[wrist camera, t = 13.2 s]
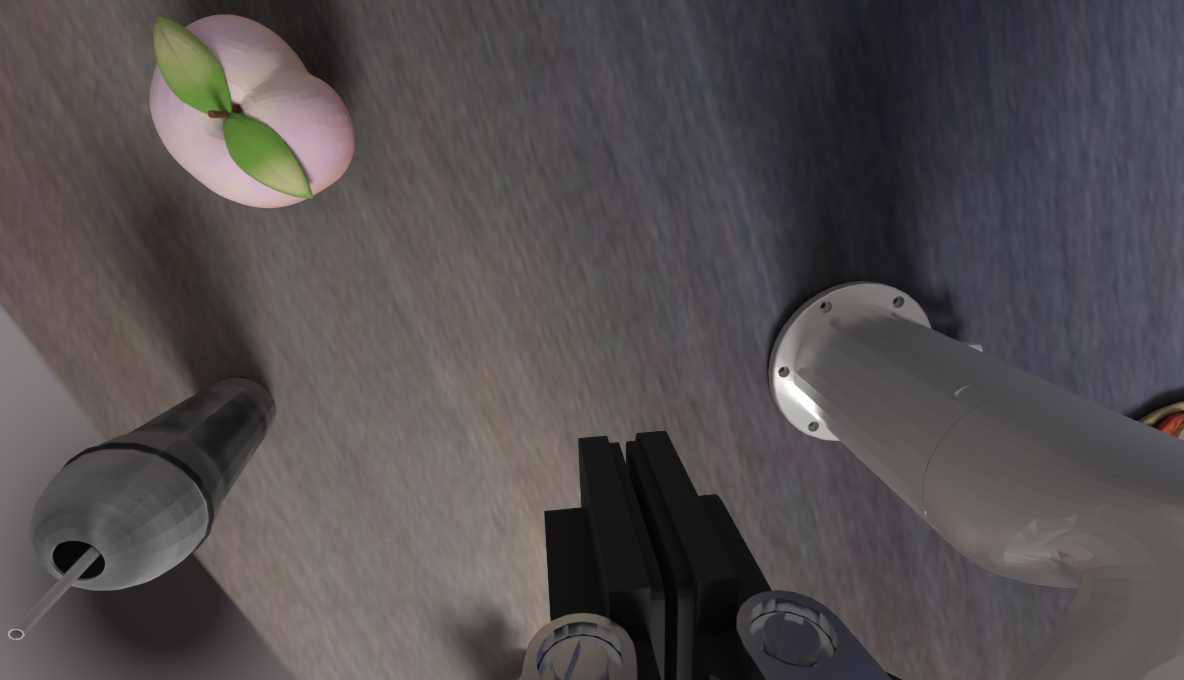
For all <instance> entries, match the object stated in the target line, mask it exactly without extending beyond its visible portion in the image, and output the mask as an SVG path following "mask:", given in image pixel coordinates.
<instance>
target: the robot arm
mask: <svg viewBox="0 0 1184 680" xmlns="http://www.w3.org/2000/svg"><path fill="white" fill-rule="evenodd" d="M822 303H823V304H822ZM821 304H822V306H821ZM820 306H821V307H820ZM780 368H781V369H780ZM779 369H780V370H779ZM768 374H769V386H770V390H771V393H772V397H773V400H774V401H775V403H776V405H777V407H778V408H779V410H780V412H781V413H782V414H783V415H784V416H785V417H786V418H787V420H788V421H789V422H791V423H792V424H793V425H794V426H795V427H796V428H797V429H799V430H800V431H802V432H804V433H806V434H807V435H810V436H813V437H816V438H820V439H823V440H833V441H841V442H842V443H843V444H844V445H845V446H846V447H847V448H848V449H850V450H851V451H852V452H853V453H854V454H855V455H856V456H857V457H858V458H859V459H860V460H861V461H862V462H863V463H864V464H866V465H867V466H868V467H869V468H870V469H871V470H872V471H873V472H874V473H875V474H876V475H877V476H878V477H879V478H880V479H881V480H883V481H884V482H885V483H886V484H887V485H888V486H889V487H890V488H891V489H892V490H893V491H894V492H895V493H896V494H897V495H899V496H900V497H901V498H902V499H903V500H904V501H905V502H906V503H907V504H908V505H909V506H910V507H911V508H912V509H913V510H915V511H916V512H917V513H918V514H919V515H920V516H921V517H922V518H923V519H924V520H925V521H926V522H927V523H928V524H929V525H931V526H932V527H933V528H934V529H935V530H936V531H937V532H938V533H939V534H940V535H941V536H942V537H943V538H944V539H945V540H946V541H947V542H948V543H949V544H951V545H952V546H953V547H954V548H955V549H956V550H957V551H958V552H960V553H961V554H962V555H964V556H965V557H966V558H968V559H969V560H971V561H972V562H974V563H976V564H977V565H979V566H981V567H983V568H985V569H987V570H989V571H991V572H994V573H996V574H998V575H1001V576H1004V577H1007V578H1011V579H1015V580H1019V581H1023V582H1027V583H1033V584H1040V585H1047V586H1055V587H1066V588H1078V592H1077V594H1076V597H1075V599H1074V600H1073V602H1072V603H1071V605H1070V606H1069V608H1068V609H1067V611H1066V612H1065V614H1064V615H1063V616H1062V618H1061V619H1060V620H1059V622H1058V625H1057V627H1056V629H1055V630H1054V631H1053V633H1052V634H1051V635H1050V636H1049V638H1048V639H1047V640H1046V642H1045V643H1044V644H1043V645H1042V647H1041V648H1040V649H1039V651H1038V652H1037V653H1036V654H1035V656H1034V657H1033V658H1032V659H1031V661H1030V662H1029V663H1028V665H1027V666H1026V667H1025V668H1024V670H1023V671H1022V672H1021V674H1020V675H1019V676H1018V677H1017V679H1016V680H1184V440H1182V439H1179V438H1177V437H1174V436H1172V435H1169V434H1167V433H1164V432H1162V431H1160V430H1157V429H1155V428H1152V427H1150V426H1148V425H1145V424H1143V423H1140V422H1138V421H1136V420H1133V419H1131V418H1128V417H1126V416H1124V415H1121V414H1119V413H1116V412H1114V411H1112V410H1109V409H1107V408H1105V407H1103V406H1100V405H1098V404H1096V403H1094V402H1091V401H1089V400H1087V399H1085V398H1082V397H1080V396H1078V395H1076V394H1074V393H1071V392H1069V391H1067V390H1065V389H1063V388H1060V387H1058V386H1056V385H1054V384H1052V383H1049V382H1047V381H1045V380H1043V379H1041V378H1039V377H1036V376H1034V375H1032V374H1030V373H1028V372H1025V371H1023V370H1021V369H1019V368H1017V367H1014V366H1012V365H1010V364H1008V363H1006V362H1003V361H1001V360H999V359H997V358H995V357H992V356H990V355H988V354H986V353H984V352H982V348H981V345H980V344H979V343H978V342H974V341H972V342H959V341H957V340H955V339H953V338H951V337H948V336H946V335H944V334H942V333H940V332H937V331H935V330H933V329H932V327H931V325H930V323H929V320H928V318H927V315H926V314H925V312H924V311H923V309H922V308H921V307H920V305H919V304H918V303H917V302H916V301H915V300H914V299H912V298H911V297H910V296H909V295H908V294H906V293H904V292H902V291H900V290H898V289H896V288H894V287H891V286H888V285H885V284H883V283H878V282H871V281H856V282H848V283H844V284H840V285H836V286H833V287H831V288H829V289H827V290H824V291H822V292H820V293H818V294H817V295H815V296H814V297H812V298H811V299H809V300H808V301H806V302H805V303H804V304H803V305H802V306H801V307H800V308H799V309H797V310H796V311H795V312H794V313H793V314H792V316H791V317H790V318H789V320H788V321H787V322H786V323H785V325H784V326H783V327H782V329H781V331H780V333H779V335H778V337H777V339H776V341H775V343H774V346H773V349H772V353H771V356H770V362H769V370H768ZM578 448H579V469H580V490H581V508H571V509H561V510H551V511H544V515H545V533H546V550H547V567H548V584H549V601H550V618H551V622H550V623H548V624H547V625H545V626H544V627H543V628H541V629H540V630H539V631H538V632H537V633H536V635H535V636H534V637H533V639H532V640H531V641H530V643H529V646H528V649H527V651H526V654H525V658H524V663H523V669H522V675H521V680H902V679H900V678H898V677H896V676H893V675H891V674H889V673H887V672H885V671H884V670H883V669H882V668H881V666H880V665H879V664H878V663H877V662H876V661H875V660H874V658H873V657H872V656H871V655H870V654H869V653H868V651H867V650H866V649H865V648H864V647H863V646H862V645H861V643H860V642H859V641H858V640H857V639H856V638H855V636H854V635H853V634H852V633H851V632H850V631H849V630H848V628H847V627H846V626H845V625H844V624H843V623H842V622H841V620H840V619H839V618H838V617H837V616H836V615H835V614H834V613H832V612H831V611H830V610H829V609H828V608H827V607H826V606H824V605H822V604H821V603H819V602H817V601H815V600H814V599H812V598H810V597H807V596H804V595H801V594H798V593H795V592H788V591H780V590H776V591H772V590H771V588H770V586H769V585H768V583H767V581H766V579H765V577H764V576H763V574H762V572H761V570H760V568H759V567H758V565H757V563H756V561H755V559H754V558H753V556H752V554H751V552H750V550H749V549H748V547H747V545H746V543H745V541H744V540H743V538H742V536H741V534H740V532H739V531H738V529H737V527H736V525H735V524H734V522H733V520H732V518H731V516H730V515H729V513H728V511H727V509H726V507H725V506H724V504H723V502H722V500H721V499H720V498H719V496H718V495H715V494H713V495H703V496H698V494H697V492H696V490H695V488H694V486H693V484H692V482H691V480H690V478H689V476H688V474H687V472H686V470H685V468H684V466H683V464H682V462H681V460H680V458H679V456H678V454H677V452H676V450H675V448H674V446H673V444H672V442H671V440H670V438H669V436H668V434H667V432H666V431H656V432H644V433H637V434H636V441H627V443H626V463H625V460H624V457H623V454H622V451H621V448H620V444H619V442H616V443H609V440H608V437H607V436H598V437H587V438H579V439H578Z"/></svg>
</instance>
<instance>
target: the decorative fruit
mask: <svg viewBox="0 0 1184 680" xmlns="http://www.w3.org/2000/svg"><path fill="white" fill-rule="evenodd" d="M153 41H154V51H155V56H156V60H157V64H156V68H155V71H154V75H153V79H152V84H151V89H150V109H151V114H152V118H153V121H154V124H155V127H156V129H157V132H158V134H159V136H160V138H161V140H162V141H163V143H164V145H165V146H166V148H167V149H168V151H169V152H170V153H171V155H172V156H173V157H174V158H175V159H176V161H177V162H178V163H179V164H180V165H181V166H183V167H184V168H185V169H186V170H187V171H188V172H189V173H190V174H192V175H193V176H194V177H195V178H196V179H198V180H199V181H200V182H201V183H203V184H204V185H205V186H206V187H208V188H209V189H210V190H212V191H214V192H215V193H217V194H219V195H221V196H223V197H225V198H227V199H230V200H232V201H235V202H238V203H241V204H245V205H249V206H253V207H259V208H277V207H284V206H289V205H292V204H296V203H298V202H301V201H303V200H305V199H312V198H313V195H315V194H317V193H318V192H320V191H322V190H324V189H325V188H327V187H328V186H330V185H331V184H333V183H334V182H336V181H337V180H338V179H339V178H340V177H341V176H342V175H343V173H344V172H345V171H346V169H347V168H348V166H349V164H350V162H351V159H352V157H353V152H354V147H355V135H354V128H353V124H352V121H351V117H350V115H349V113H348V110H347V108H346V106H345V105H344V103H343V101H342V100H341V98H340V97H339V95H338V94H337V93H336V92H335V91H334V90H333V89H332V88H331V87H330V86H329V85H328V84H326V83H325V82H324V81H322V80H321V79H319V78H317V77H314V76H312V75H311V74H309V72H308V71H307V69H306V68H305V66H304V64H303V63H302V61H301V59H300V58H299V57H298V56H297V54H296V53H295V52H294V51H293V50H292V49H291V47H290V46H289V45H288V44H287V43H286V42H285V41H283V40H282V39H281V38H280V37H279V36H278V35H277V34H275V33H274V32H273V31H271V30H270V29H268V28H266V27H265V26H263V25H261V24H259V23H257V22H255V21H253V20H251V19H248V18H245V17H240V16H236V15H232V14H231V15H213V16H209V17H205V18H202V19H199V20H197V21H195V22H193V23H191V24H189V25H188V26H186V27H183V26H181V25H180V24H178V23H177V22H175V21H173V20H171V19H169V18H166V17H164V16H161V15H159V16H158V17H157V20H156V23H155V27H154V36H153Z"/></svg>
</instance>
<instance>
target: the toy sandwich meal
mask: <svg viewBox="0 0 1184 680" xmlns="http://www.w3.org/2000/svg"><path fill="white" fill-rule="evenodd" d="M1138 422H1140V423H1143V424H1145V425H1148V426H1150V427H1152V428H1155V429H1157V430H1160V431H1162V432H1164V433H1167V434H1169V435H1172V436H1174V437H1177V438H1179V439H1182V440H1184V401H1183V402H1178V403H1175V404H1172V405H1169V406H1166V407H1163V408H1160V409H1158V410H1155V411H1153V412H1151V413H1150V414H1148V415H1146V416H1145V417H1143V418H1142V419H1140V420H1139V421H1138Z"/></svg>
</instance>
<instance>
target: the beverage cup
mask: <svg viewBox="0 0 1184 680" xmlns="http://www.w3.org/2000/svg"><path fill="white" fill-rule="evenodd" d="M275 415H276V408H275V403H274V400H273V398H272V396H271V394H270V393H269V392H268V391H267V390H266V389H265V388H264V387H263V386H261V385H260V384H258V383H256V382H255V381H252V380H249V379H245V378H228V379H224V380H221V381H220V382H218V383H217V384H214V385H213V386H210V387H207V388H205V389H204V390H202V391H200V392H199V393H197V394H195V395H193V396H192V397H190V398H188V399H187V400H185V401H183V402H181V403H180V404H178V405H176V406H175V407H173V408H171V409H170V410H168V411H166V412H164V413H163V414H161V415H159V416H158V417H156V418H154V419H152V420H151V421H149V422H147V423H146V424H144V425H142V426H141V427H139V428H137V429H135V430H134V431H132V432H130V433H129V434H126V435H122V436H119V437H116V438H114V439H112V440H109V441H107V442H104V443H102V444H100V445H99V446H95V447H91V448H87V449H86V450H84V451H83V452H81V453H79V454H78V455H76V456H75V457H73V458H71V459H70V460H69V461H68V462H67V463H66V464H65V466H64V467H63V469H62V470H61V471H60V472H59V473H58V474H57V475H56V476H55V477H54V478H53V480H52V481H51V482H50V483H49V485H48V486H47V487H46V489H45V491H44V492H43V494H42V495H41V496H40V498H39V499H38V501H37V503H36V505H35V507H34V511H33V515H32V521H31V527H30V539H31V544H32V547H33V551H34V554H35V556H36V557H37V559H38V560H39V562H40V563H41V565H42V566H43V568H44V569H45V570H46V571H47V572H48V573H50V574H51V575H52V576H53V577H55V578H56V579H57V580H59V581H58V582H57V583H56V584H55V585H54V586H53V587H52V588H51V589H50V590H49V591H48V592H47V593H46V594H45V595H44V596H43V597H42V598H41V599H40V600H39V601H38V602H37V603H36V605H34V607H32V609H31V610H30V611H29V612H28V613H27V614H26V615H25V616H24V617H23V618H22V619H21V620H20V621H19V622H18V623H17V624H16V625H15V626H14V627H13V628H12V629H11V630H10V631H9V632H8V636H9V638H11V639H14V640H19V639H22V638H23V637H24V635H25V634H26V633H27V632H28V631H29V630H30V629H31V628H32V627H33V626H34V625H35V624H36V623H37V622H38V621H39V619H40V618H41V617H42V616H43V615H44V614H45V613H46V612H47V611H48V610H49V609H50V608H51V607H52V605H53V604H54V603H55V602H56V601H57V600H58V599H59V598H60V597H61V596H62V595H63V594H64V593H65V592H66V591H67V589H68V588H69V587H70V586H74V587H79V588H84V589H89V590H116V589H122V588H127V587H130V586H134V585H138V584H141V583H144V582H147V581H150V580H152V579H154V578H156V577H158V576H160V575H161V574H163V573H164V572H166V571H168V570H169V569H171V568H173V567H174V566H176V565H177V564H178V563H180V562H181V561H183V560H184V559H185V558H186V557H187V556H188V555H189V554H191V553H193V552H194V551H195V550H197V549H198V548H199V547H200V546H201V544H202V543H203V542H204V540H205V539H206V538H207V537H208V535H209V534H210V531H211V527H212V524H213V523H214V521H215V519H216V517H217V514H218V512H219V510H220V507H221V504H222V501H223V499H224V498H225V496H226V495H227V493H228V492H229V490H230V489H231V487H232V486H233V484H234V483H235V481H236V480H237V478H238V477H239V475H240V474H241V472H242V471H243V469H244V468H245V466H246V465H247V463H248V462H249V460H250V458H251V457H252V455H253V454H254V452H255V451H256V449H257V448H258V446H259V445H260V443H261V442H262V440H263V439H264V437H265V436H266V434H267V432H268V429H269V427H270V425H271V424H272V423H273V422H274V418H275Z"/></svg>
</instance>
